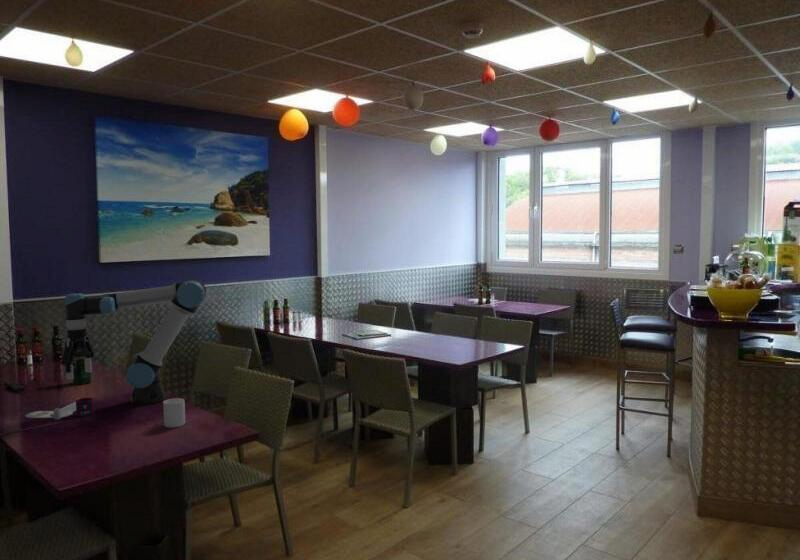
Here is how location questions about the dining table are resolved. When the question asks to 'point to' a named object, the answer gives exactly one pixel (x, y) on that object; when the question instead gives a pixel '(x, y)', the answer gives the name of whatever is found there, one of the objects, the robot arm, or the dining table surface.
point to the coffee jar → (80, 369)
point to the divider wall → (64, 410)
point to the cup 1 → (84, 407)
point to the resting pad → (44, 414)
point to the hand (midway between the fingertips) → (79, 375)
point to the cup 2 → (174, 412)
